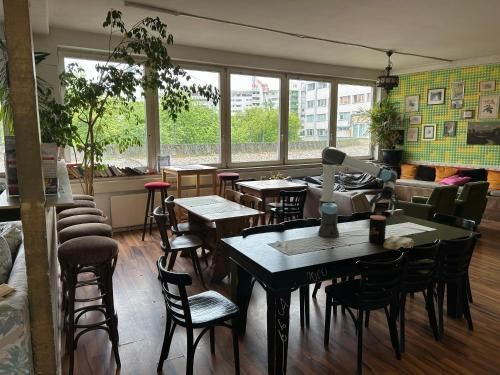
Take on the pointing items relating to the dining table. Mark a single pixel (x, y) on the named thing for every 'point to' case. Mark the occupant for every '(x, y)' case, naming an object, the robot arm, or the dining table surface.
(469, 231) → the dining table surface
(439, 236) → the dining table surface
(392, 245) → the cream lumpy slab
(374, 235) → the coffee jar
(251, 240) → the dining table surface
